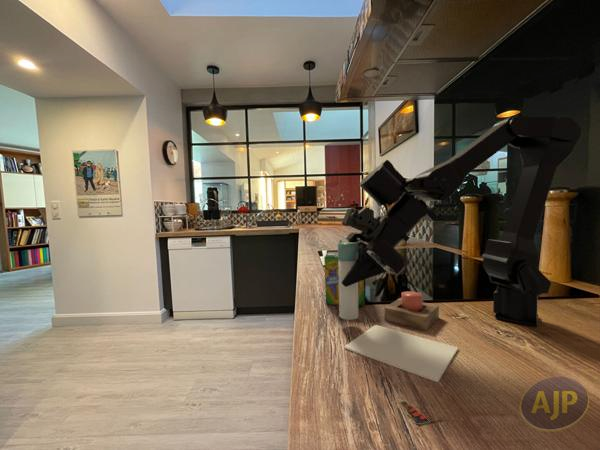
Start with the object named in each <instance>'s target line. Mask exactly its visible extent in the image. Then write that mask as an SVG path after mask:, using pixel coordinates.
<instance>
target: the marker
mask: <svg viewBox="0 0 600 450" xmlns="http://www.w3.org/2000/svg"><path fill="white" fill-rule="evenodd" d="M337 252H338V265H339V305H338V310H339V311H338V314H339V318H340V319H342V320H347V321H348V320H350V321H351V320H356V319H358V318H359V305H358V282H357V283H355V284H352V285H350V286H347V287H345V286H344V285H343V284H342V281H343V279H344V278H345V276H346V275H347V273H348V272H349V271H350V269H351V268H352V266H353V265H354V264H355V262H356V261H357V259H358V243H355V242H349V241H344V242H341V243H340V242H337Z"/></svg>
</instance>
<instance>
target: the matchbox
mask: <svg viewBox="0 0 600 450" xmlns="http://www.w3.org/2000/svg"><path fill="white" fill-rule="evenodd" d="M407 401H408V399H406V400H402V399H401V400H398V403H399V405H400V406H401V407H402V409H404V411H405V412H406V413H405V415H407V416H409V417H410V419H411V421H412V422H413V423H414V424H416V425H423V424H430V423H435V422H437V423H438V422H444V420H434V422H432V421H433V420H430V419H428V418H427V417H425V416H424V415H423V414H421V413H420V412H419V411H418V410H417V409H416V408H414V407H412V405H410V404H409V403H408V402H407ZM442 409H443V410H445V409H444V408H443V407H442ZM448 415H450V413H449V412H448ZM427 419H428V420H429V421H430V422H429V421H428V420H427Z"/></svg>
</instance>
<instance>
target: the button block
mask: <svg viewBox="0 0 600 450" xmlns="http://www.w3.org/2000/svg"><path fill="white" fill-rule="evenodd" d="M439 318H440V306H439V305H438V304H433V303H428V302H424V301H423V310H422V311H421V312H416V311H411V310H407V309H402V308H401V297H398V298H397V299H396V300H394V301H392V302H391V303H390V304H388V305H387V306H385V307H384V321H387V322H390V323H391V322H392V323H396V324H399V325H404V326H406V327H411V328H413V329H414V328H415V329H420V330H422V331H427V330H428V329H429V328H431V326H433V324H434V323H435V322H436V321H437V320H438V319H439Z"/></svg>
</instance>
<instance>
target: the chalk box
mask: <svg viewBox="0 0 600 450" xmlns="http://www.w3.org/2000/svg"><path fill="white" fill-rule="evenodd" d="M341 242H342V240H341V239H339V243H341ZM323 260H324V279H325V282H324V284H325V285H324V286H325V288H324V289H325V305H326V304H327V305H329V306H331V305H332V306H334V305H336V306H339V279H338V278H337V277H338V275H339V265H338V251H328V252H326V254H325V256H324V259H323ZM365 301H366V300H365V280H362V281H360V282H358V306H363V307H365V306H366V303H365ZM327 305H326V306H327Z"/></svg>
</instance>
